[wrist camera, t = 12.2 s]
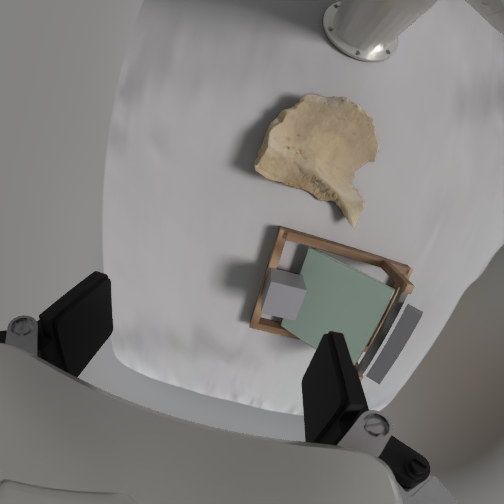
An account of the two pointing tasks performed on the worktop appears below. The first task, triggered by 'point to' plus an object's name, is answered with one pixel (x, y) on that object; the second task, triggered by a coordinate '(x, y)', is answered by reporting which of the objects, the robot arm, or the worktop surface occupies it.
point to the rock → (320, 150)
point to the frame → (392, 268)
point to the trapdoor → (348, 310)
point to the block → (283, 294)
